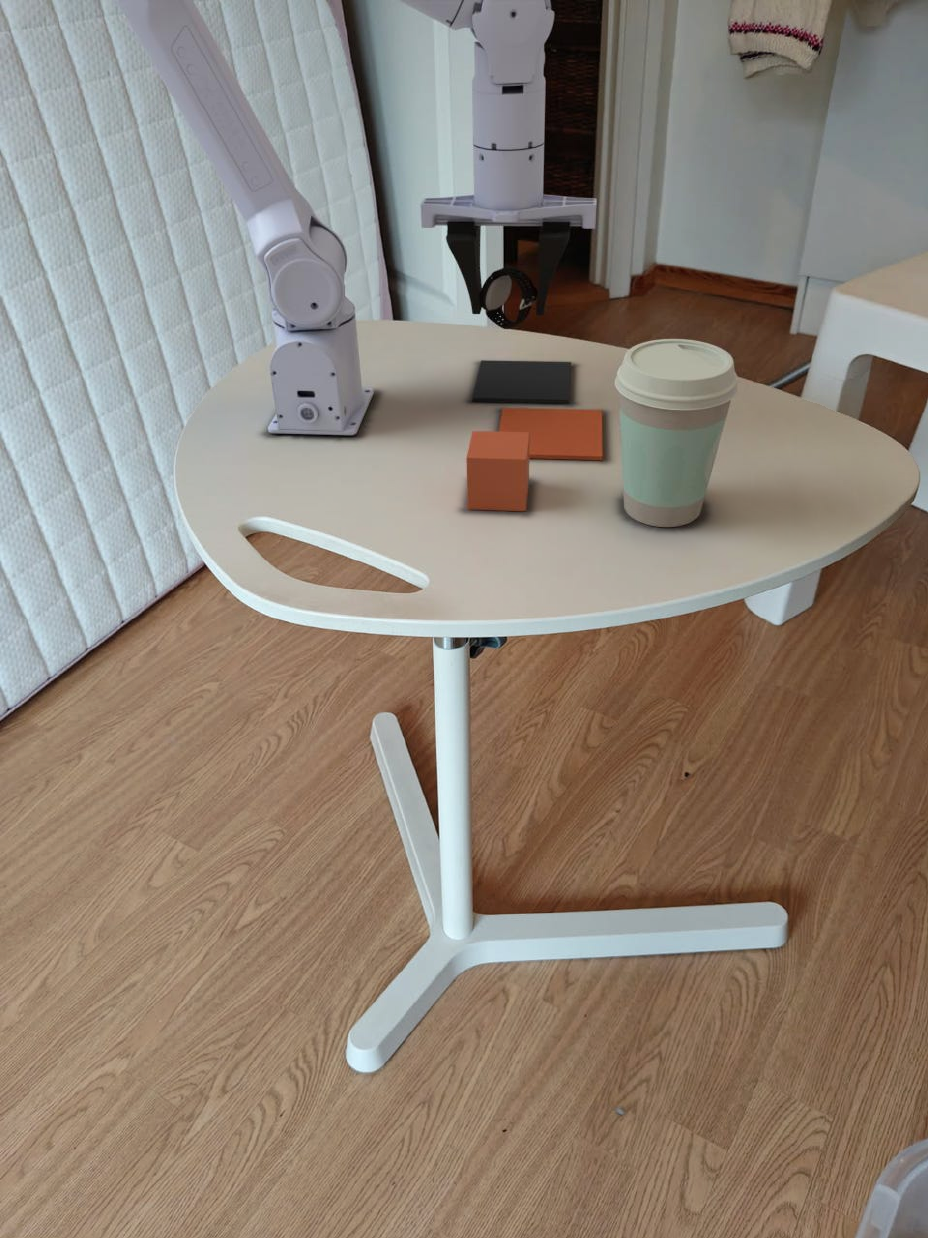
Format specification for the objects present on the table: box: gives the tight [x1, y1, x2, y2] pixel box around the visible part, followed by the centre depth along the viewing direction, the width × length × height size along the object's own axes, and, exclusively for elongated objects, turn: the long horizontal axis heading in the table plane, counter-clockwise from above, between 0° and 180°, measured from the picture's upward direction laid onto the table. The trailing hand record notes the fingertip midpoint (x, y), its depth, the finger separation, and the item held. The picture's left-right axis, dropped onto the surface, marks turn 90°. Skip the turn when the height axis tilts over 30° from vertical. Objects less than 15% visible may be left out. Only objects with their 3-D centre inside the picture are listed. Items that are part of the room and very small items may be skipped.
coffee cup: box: [614, 338, 739, 528], centre depth 72 cm, size 9×8×12 cm
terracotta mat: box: [498, 407, 604, 461], centre depth 86 cm, size 9×9×1 cm
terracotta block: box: [465, 430, 530, 512], centre depth 76 cm, size 4×4×4 cm
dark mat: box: [471, 359, 572, 405], centre depth 95 cm, size 9×9×1 cm
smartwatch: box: [480, 265, 538, 330], centre depth 86 cm, size 4×5×5 cm
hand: (508, 310), depth 87 cm, fingers closed on smartwatch, 5 cm apart
